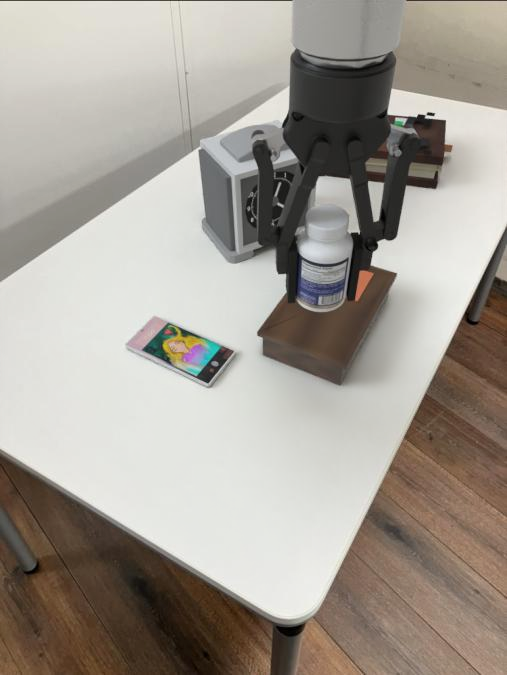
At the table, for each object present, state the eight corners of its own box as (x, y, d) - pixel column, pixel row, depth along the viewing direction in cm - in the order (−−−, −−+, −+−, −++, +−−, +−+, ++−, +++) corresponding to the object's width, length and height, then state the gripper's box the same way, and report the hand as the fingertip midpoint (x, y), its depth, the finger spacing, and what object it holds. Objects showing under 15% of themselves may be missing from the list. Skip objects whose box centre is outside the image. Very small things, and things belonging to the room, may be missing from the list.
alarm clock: (230, 265, 88) (223, 167, 75) (200, 226, 96) (188, 131, 83) (320, 234, 94) (328, 137, 80) (284, 199, 102) (286, 107, 88)
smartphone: (208, 385, 69) (123, 345, 75) (209, 388, 70) (124, 348, 75) (236, 351, 74) (154, 315, 79) (236, 354, 74) (154, 318, 79)
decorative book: (320, 102, 115) (458, 114, 109) (317, 134, 121) (449, 148, 115) (302, 141, 102) (458, 157, 96) (300, 175, 108) (447, 193, 102)
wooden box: (391, 297, 82) (397, 272, 78) (342, 389, 69) (347, 364, 66) (316, 273, 86) (318, 248, 82) (257, 355, 74) (256, 330, 70)
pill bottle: (304, 274, 56) (310, 194, 49) (352, 287, 54) (365, 207, 47) (285, 305, 52) (288, 224, 45) (335, 320, 51) (346, 239, 44)
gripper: (457, 27, 39) (399, 266, 56) (214, 36, 39) (230, 273, 56) (492, 63, 34) (417, 314, 51) (212, 74, 33) (231, 322, 50)
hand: (319, 292), depth 53 cm, fingers closed on pill bottle, 5 cm apart
